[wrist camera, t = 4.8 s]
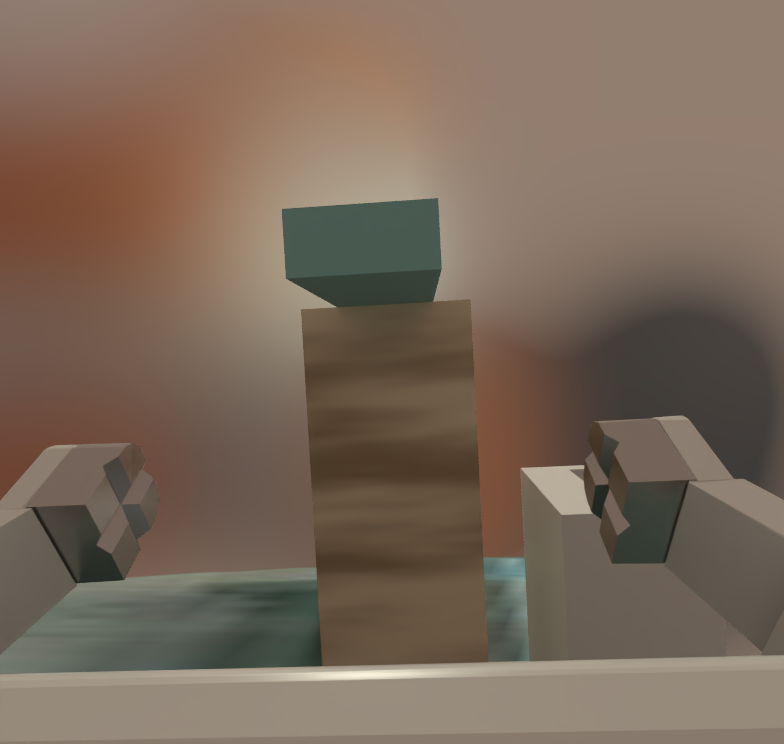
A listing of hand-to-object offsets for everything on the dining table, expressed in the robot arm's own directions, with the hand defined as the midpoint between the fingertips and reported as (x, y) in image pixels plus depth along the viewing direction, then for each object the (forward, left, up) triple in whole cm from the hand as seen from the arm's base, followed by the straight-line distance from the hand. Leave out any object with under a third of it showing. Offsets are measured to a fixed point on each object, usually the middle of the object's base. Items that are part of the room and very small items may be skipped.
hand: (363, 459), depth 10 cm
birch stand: (+18, +11, -22) cm, 30 cm away
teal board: (+17, +10, +4) cm, 20 cm away
